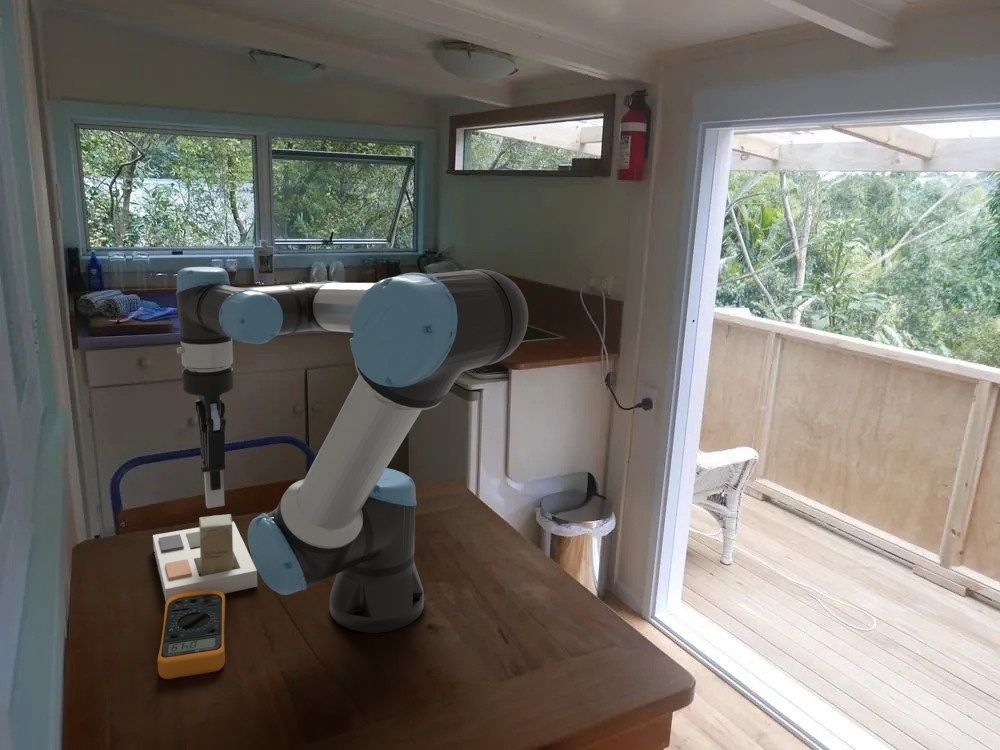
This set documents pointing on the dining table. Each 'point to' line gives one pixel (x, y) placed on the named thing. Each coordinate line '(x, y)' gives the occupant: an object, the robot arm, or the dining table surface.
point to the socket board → (184, 564)
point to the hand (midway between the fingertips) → (215, 505)
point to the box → (216, 544)
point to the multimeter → (192, 634)
